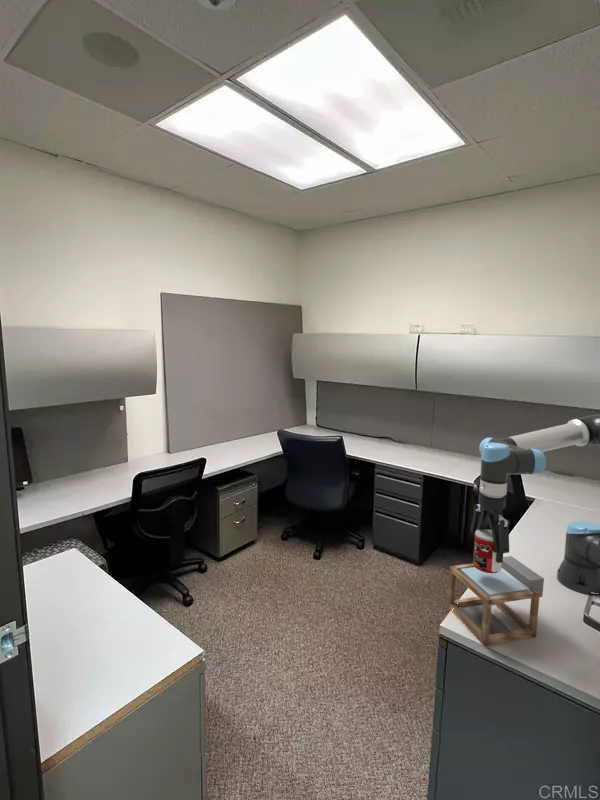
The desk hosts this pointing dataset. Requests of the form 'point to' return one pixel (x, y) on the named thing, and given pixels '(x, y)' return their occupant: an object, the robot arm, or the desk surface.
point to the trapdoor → (506, 578)
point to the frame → (481, 616)
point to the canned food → (483, 550)
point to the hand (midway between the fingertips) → (487, 563)
